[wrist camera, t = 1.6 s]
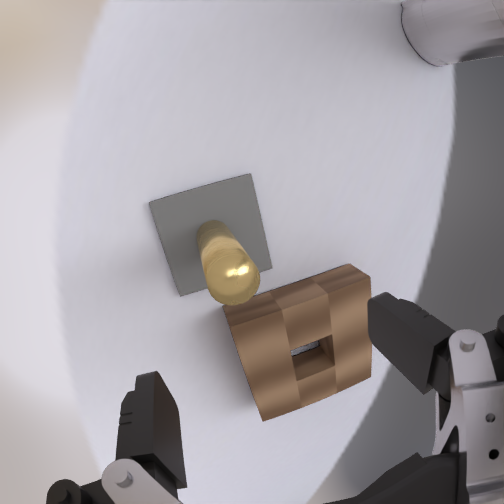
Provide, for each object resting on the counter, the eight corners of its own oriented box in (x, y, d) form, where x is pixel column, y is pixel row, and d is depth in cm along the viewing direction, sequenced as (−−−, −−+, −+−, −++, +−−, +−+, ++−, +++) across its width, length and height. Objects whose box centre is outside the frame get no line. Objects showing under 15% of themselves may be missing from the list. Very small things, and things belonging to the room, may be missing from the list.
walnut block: (222, 306, 28) (229, 327, 25) (349, 263, 31) (370, 276, 27) (254, 398, 33) (262, 421, 30) (355, 359, 35) (370, 376, 32)
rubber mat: (149, 202, 24) (149, 202, 24) (249, 173, 25) (251, 173, 25) (180, 294, 27) (180, 296, 27) (270, 266, 28) (272, 268, 28)
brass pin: (192, 225, 25) (200, 264, 16) (225, 216, 26) (253, 249, 16) (201, 257, 26) (215, 311, 17) (234, 248, 27) (264, 296, 17)
